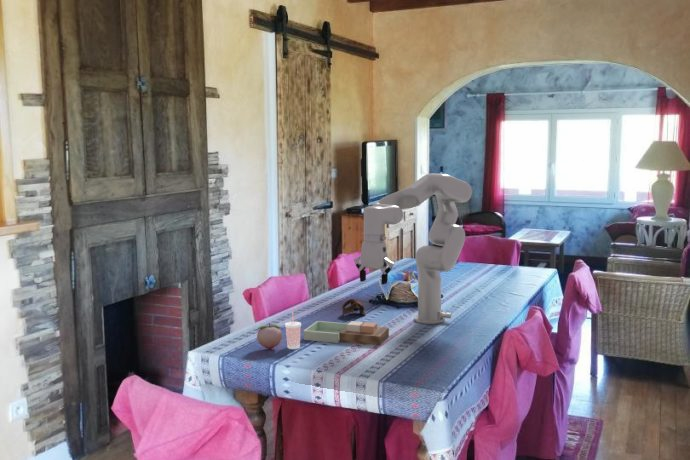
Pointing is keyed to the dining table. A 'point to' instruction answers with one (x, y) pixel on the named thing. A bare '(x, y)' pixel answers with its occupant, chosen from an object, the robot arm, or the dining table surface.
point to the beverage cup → (293, 334)
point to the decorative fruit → (269, 336)
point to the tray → (324, 331)
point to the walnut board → (364, 336)
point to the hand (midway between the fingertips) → (373, 282)
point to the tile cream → (354, 326)
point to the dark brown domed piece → (353, 307)
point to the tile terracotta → (369, 327)
